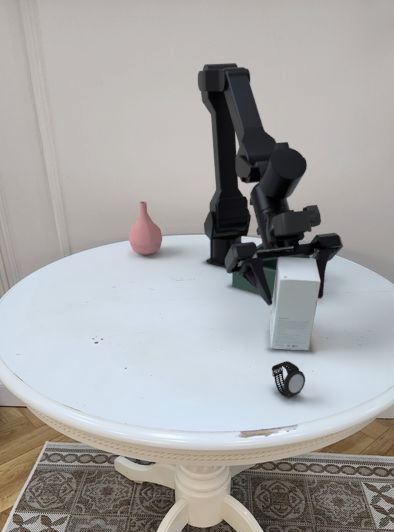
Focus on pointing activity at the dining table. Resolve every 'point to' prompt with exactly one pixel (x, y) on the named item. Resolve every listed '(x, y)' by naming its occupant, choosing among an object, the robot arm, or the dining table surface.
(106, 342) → the dining table surface
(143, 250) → the pink vase
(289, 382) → the smartwatch
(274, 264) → the green storage bin
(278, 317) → the small box
